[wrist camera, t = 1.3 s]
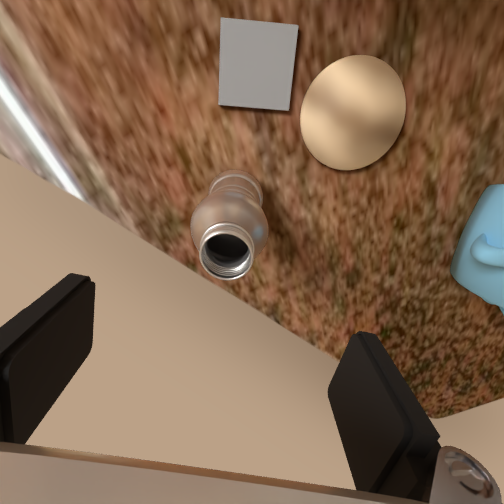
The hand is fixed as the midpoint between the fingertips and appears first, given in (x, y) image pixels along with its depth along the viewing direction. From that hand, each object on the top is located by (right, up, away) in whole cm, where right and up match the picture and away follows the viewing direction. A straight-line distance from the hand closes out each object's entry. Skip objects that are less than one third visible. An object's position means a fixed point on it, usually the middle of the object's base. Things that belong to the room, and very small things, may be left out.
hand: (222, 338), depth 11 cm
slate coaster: (+2, +23, +22) cm, 32 cm away
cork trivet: (+13, +19, +24) cm, 33 cm away
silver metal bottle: (-1, +11, +28) cm, 30 cm away
